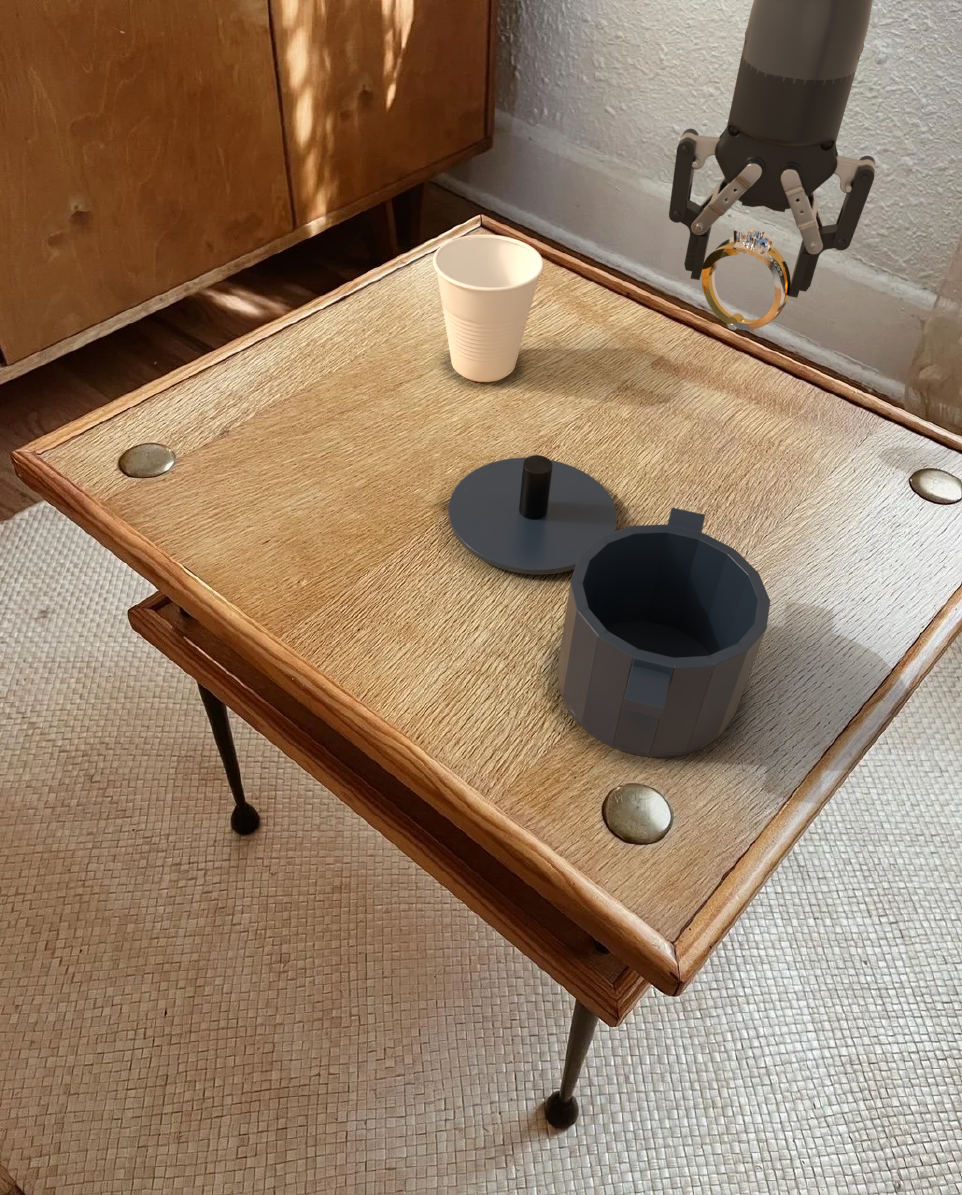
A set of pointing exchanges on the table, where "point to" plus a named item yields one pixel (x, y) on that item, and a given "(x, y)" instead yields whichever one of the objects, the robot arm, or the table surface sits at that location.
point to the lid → (530, 514)
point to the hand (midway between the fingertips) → (744, 283)
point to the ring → (765, 252)
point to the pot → (660, 637)
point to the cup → (486, 301)
